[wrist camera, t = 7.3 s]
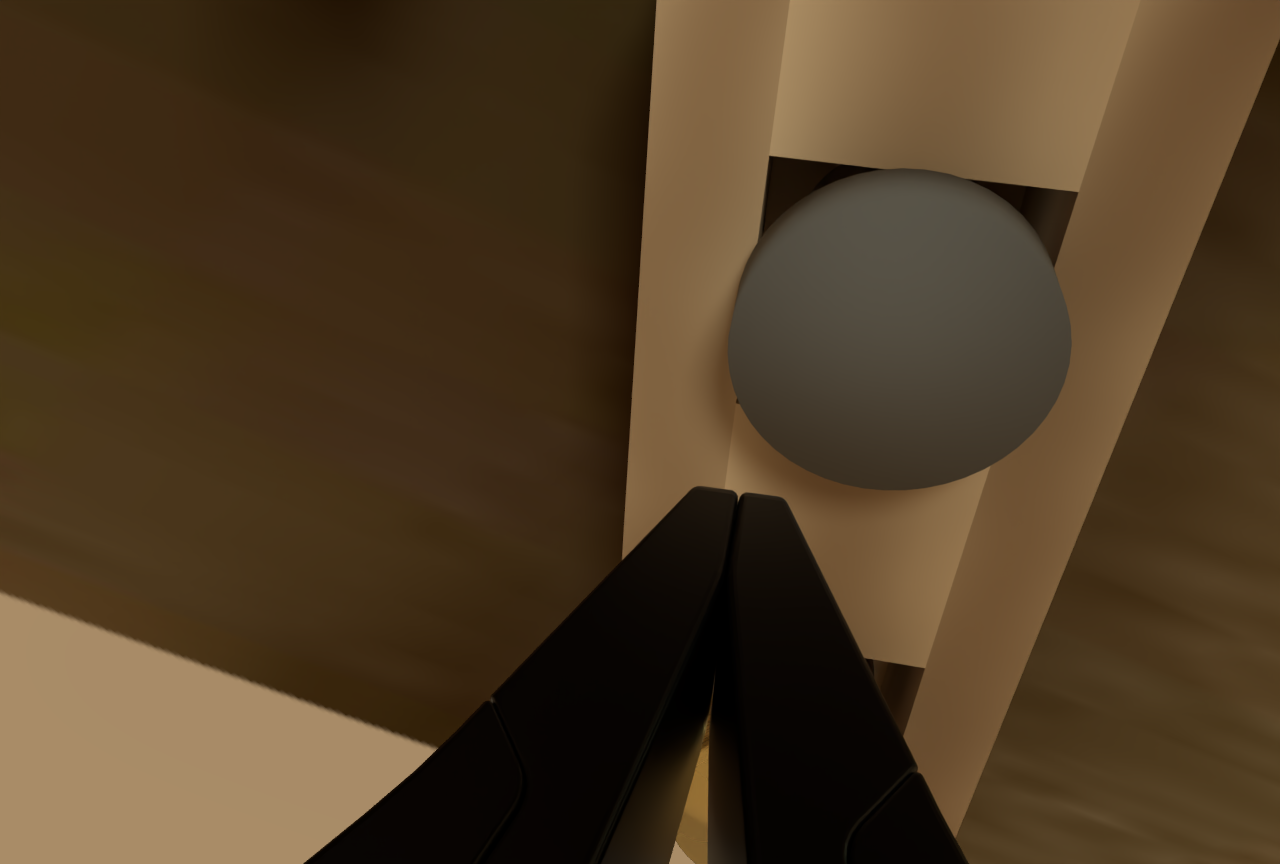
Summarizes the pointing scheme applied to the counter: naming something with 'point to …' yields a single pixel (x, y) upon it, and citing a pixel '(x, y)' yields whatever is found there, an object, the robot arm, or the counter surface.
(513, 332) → the counter surface
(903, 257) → the grey domed piece
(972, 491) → the oak block
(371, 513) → the counter surface
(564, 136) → the counter surface
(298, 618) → the counter surface
